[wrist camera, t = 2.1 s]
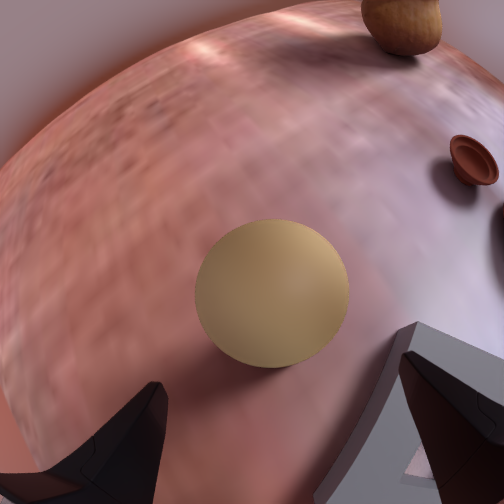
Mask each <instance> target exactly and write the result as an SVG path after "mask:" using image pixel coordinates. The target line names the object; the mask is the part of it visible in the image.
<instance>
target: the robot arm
mask: <svg viewBox="0 0 504 504" xmlns="http://www.w3.org/2000/svg"><path fill="white" fill-rule="evenodd" d="M398 372H399V376H400V379H401V383H402V386H403V390H404V394H405V397H406V401H407V404H408V407H409V410H410V412H411V415H412V417H413V420H414V423H415V425H416V428H417V430H418V433H419V436H420V438H421V441H422V444H423V447H424V449H425V452H426V455H427V458H428V461H429V464H430V467H431V470H432V473H433V476H434V479H435V482H436V485H437V489H438V492H439V496H440V499H441V503H442V504H504V406H503V405H501V404H499V403H497V402H495V401H493V400H491V399H490V398H488V397H486V396H485V395H483V394H481V393H480V392H477V390H475V389H473V388H472V387H470V386H469V385H467V384H465V383H464V382H462V381H461V380H459V379H458V378H456V377H454V376H453V375H451V374H450V373H448V372H446V371H445V370H443V369H442V368H440V367H438V366H437V365H435V364H434V363H432V362H430V361H429V360H427V359H426V358H424V357H423V356H421V355H419V354H418V353H416V352H415V351H412V350H410V351H407V352H403V353H402V355H401V359H400V363H399V367H398ZM167 411H168V395H167V393H166V391H165V389H164V387H163V385H162V383H161V382H155V381H151V382H149V383H148V384H147V385H146V386H145V387H144V388H143V389H142V390H141V391H140V392H139V393H137V394H136V395H135V396H134V397H133V398H132V399H131V400H130V401H129V402H128V403H127V404H126V405H125V406H124V407H123V408H122V409H121V410H119V411H118V412H117V413H116V414H115V415H114V416H113V417H112V418H111V419H110V420H109V421H108V422H107V423H106V424H105V425H103V426H102V427H101V428H100V429H99V430H98V431H97V432H96V433H95V434H94V436H91V437H90V438H89V439H88V440H87V441H86V442H85V443H84V444H83V445H81V446H80V447H79V448H78V449H76V450H75V451H74V452H73V453H71V454H70V455H69V456H67V457H66V458H64V459H63V460H62V461H60V462H59V463H57V464H56V465H55V466H53V467H52V468H50V469H48V470H46V471H43V472H38V473H17V474H16V473H9V474H8V473H0V494H1V495H2V496H4V497H3V499H2V501H1V504H153V498H154V492H155V487H156V481H157V476H158V470H159V465H160V460H161V454H162V449H163V444H164V439H165V434H166V423H167Z"/></svg>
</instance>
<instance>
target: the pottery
mask: <svg viewBox="0 0 504 504" xmlns="http://www.w3.org/2000/svg"><path fill="white" fill-rule="evenodd" d="M450 153H451V157H452V161H453V164H454V173H455V175H456V177H457V178H458V179H459V180H460V181H461V182H462V183H463V184H465V185H468V186H472V185H474V184H475V185H491V184H494V183H495V182H496V181H497V180H498V177H499V170H498V166H497V164H496V161H495V160H494V158H493V156H492V155H491V153H490V152H489V151H488V150H487V149H486V148H485V147H484V146H483V145H482V144H481V143H479V142H478V141H476V140H475V139H473V138H471V137H469V136H465V135H456V136H454V137H453V138H452V139H451V141H450ZM503 216H504V205H503Z"/></svg>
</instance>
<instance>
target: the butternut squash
mask: <svg viewBox="0 0 504 504" xmlns="http://www.w3.org/2000/svg"><path fill="white" fill-rule="evenodd" d="M438 1H439V0H363V1H362V4H361V13H362V17H363V21H364V23H365V25H366V27H367V29H368V30H369V32H370V33H371V35H372V36H373V37H374V38H375V40H376V41H377V42H378V43H379V44H380V46H381V47H382V48H383V49H384V51H385V52H387V53H391V54H396V55H401V56H408V55H419V54H424V53H427V52H429V51H431V50H432V49H434V48H435V47H436V46H437V45H438V44H439V41H440V39H441V35H442V21H441V14H440V10H439V2H438Z"/></svg>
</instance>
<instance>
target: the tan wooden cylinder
mask: <svg viewBox="0 0 504 504" xmlns="http://www.w3.org/2000/svg"><path fill="white" fill-rule="evenodd" d="M348 302H349V283H348V278H347V273H346V270H345V267H344V264H343V262H342V260H341V258H340V256H339V255H338V253H337V252H336V250H335V249H334V248H333V246H332V245H331V244H330V243H329V242H328V241H327V240H326V239H325V238H324V237H322V236H321V235H320V234H319V233H317V232H315V231H314V230H312V229H311V228H308V227H306V226H304V225H302V224H299V223H296V222H292V221H287V220H279V219H266V220H260V221H255V222H251V223H248V224H245V225H242V226H240V227H238V228H236V229H234V230H232V231H231V232H229V233H228V234H226V235H225V236H224V237H222V238H221V239H220V240H219V241H218V242H217V243H216V244H215V245H214V246H213V247H212V249H211V250H210V251H209V253H208V254H207V256H206V257H205V259H204V261H203V263H202V265H201V267H200V270H199V273H198V276H197V280H196V286H195V304H196V309H197V314H198V317H199V320H200V322H201V324H202V326H203V328H204V330H205V332H206V333H207V335H208V336H209V338H210V339H211V340H212V341H213V343H214V344H215V345H216V346H217V347H218V348H219V349H221V350H222V351H223V352H224V353H226V354H227V355H229V356H230V357H232V358H234V359H236V360H238V361H240V362H242V363H245V364H249V365H252V366H257V367H264V368H279V367H286V366H290V365H294V364H297V363H299V362H302V361H304V360H306V359H308V358H310V357H311V356H313V355H315V354H316V353H318V352H319V351H320V350H321V349H323V348H324V347H325V346H326V345H327V344H328V343H329V342H330V341H331V340H332V339H333V337H334V336H335V334H336V333H337V332H338V330H339V328H340V326H341V324H342V322H343V320H344V317H345V314H346V312H347V307H348Z"/></svg>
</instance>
